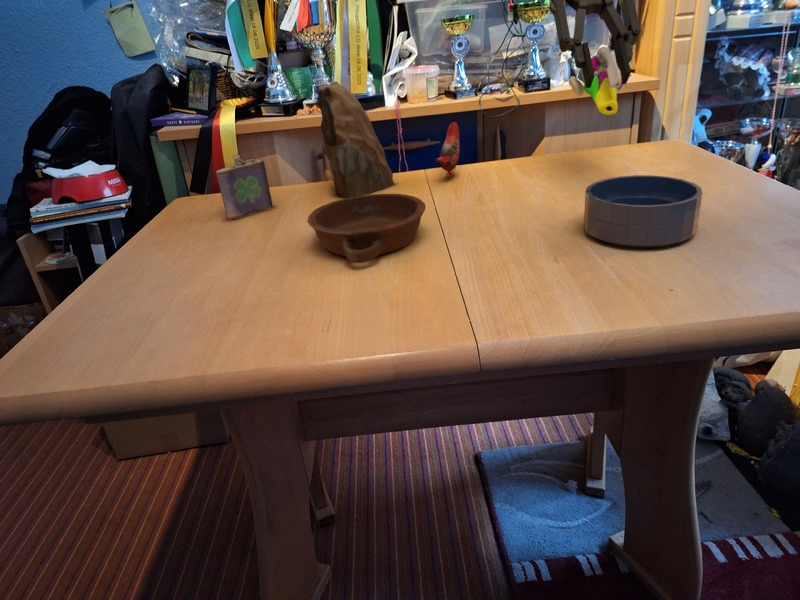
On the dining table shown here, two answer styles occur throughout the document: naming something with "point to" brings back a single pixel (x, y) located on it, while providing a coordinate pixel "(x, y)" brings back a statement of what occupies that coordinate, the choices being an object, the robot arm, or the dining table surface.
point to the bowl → (642, 210)
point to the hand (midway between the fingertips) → (608, 79)
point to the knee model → (601, 82)
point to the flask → (244, 188)
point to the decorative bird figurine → (450, 149)
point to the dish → (367, 224)
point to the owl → (351, 144)
